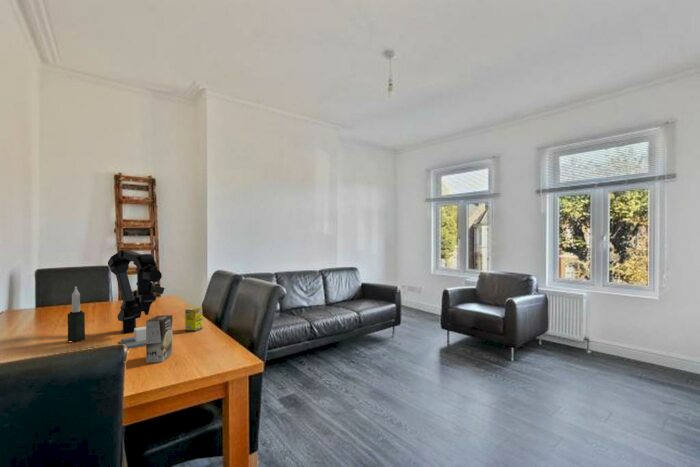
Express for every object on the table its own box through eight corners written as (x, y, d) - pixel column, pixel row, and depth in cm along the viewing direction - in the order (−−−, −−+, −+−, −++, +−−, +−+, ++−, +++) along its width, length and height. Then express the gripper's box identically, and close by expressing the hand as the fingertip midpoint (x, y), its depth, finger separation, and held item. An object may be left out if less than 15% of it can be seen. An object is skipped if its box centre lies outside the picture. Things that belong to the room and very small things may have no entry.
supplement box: (195, 331, 174) (195, 310, 174) (184, 331, 176) (184, 309, 176) (202, 328, 180) (202, 307, 180) (192, 328, 181) (192, 306, 181)
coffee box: (163, 362, 134) (162, 320, 134) (145, 363, 134) (145, 321, 134) (173, 354, 144) (172, 314, 143) (156, 354, 143) (156, 315, 143)
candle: (86, 339, 163) (85, 285, 162) (74, 343, 158) (73, 287, 157) (78, 338, 164) (77, 285, 164) (66, 342, 159) (65, 287, 159)
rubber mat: (120, 341, 160) (120, 338, 160) (155, 335, 169) (155, 332, 169) (126, 349, 149) (126, 346, 149) (162, 342, 158) (162, 339, 158)
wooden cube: (134, 339, 159) (134, 328, 159) (146, 336, 163) (146, 326, 163) (136, 341, 156) (136, 330, 156) (149, 339, 159) (149, 328, 159)
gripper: (167, 280, 166) (168, 313, 166) (158, 277, 180) (158, 307, 180) (141, 283, 158) (141, 317, 159) (132, 279, 172) (133, 310, 173)
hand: (144, 313), depth 168 cm, fingers open, 9 cm apart
